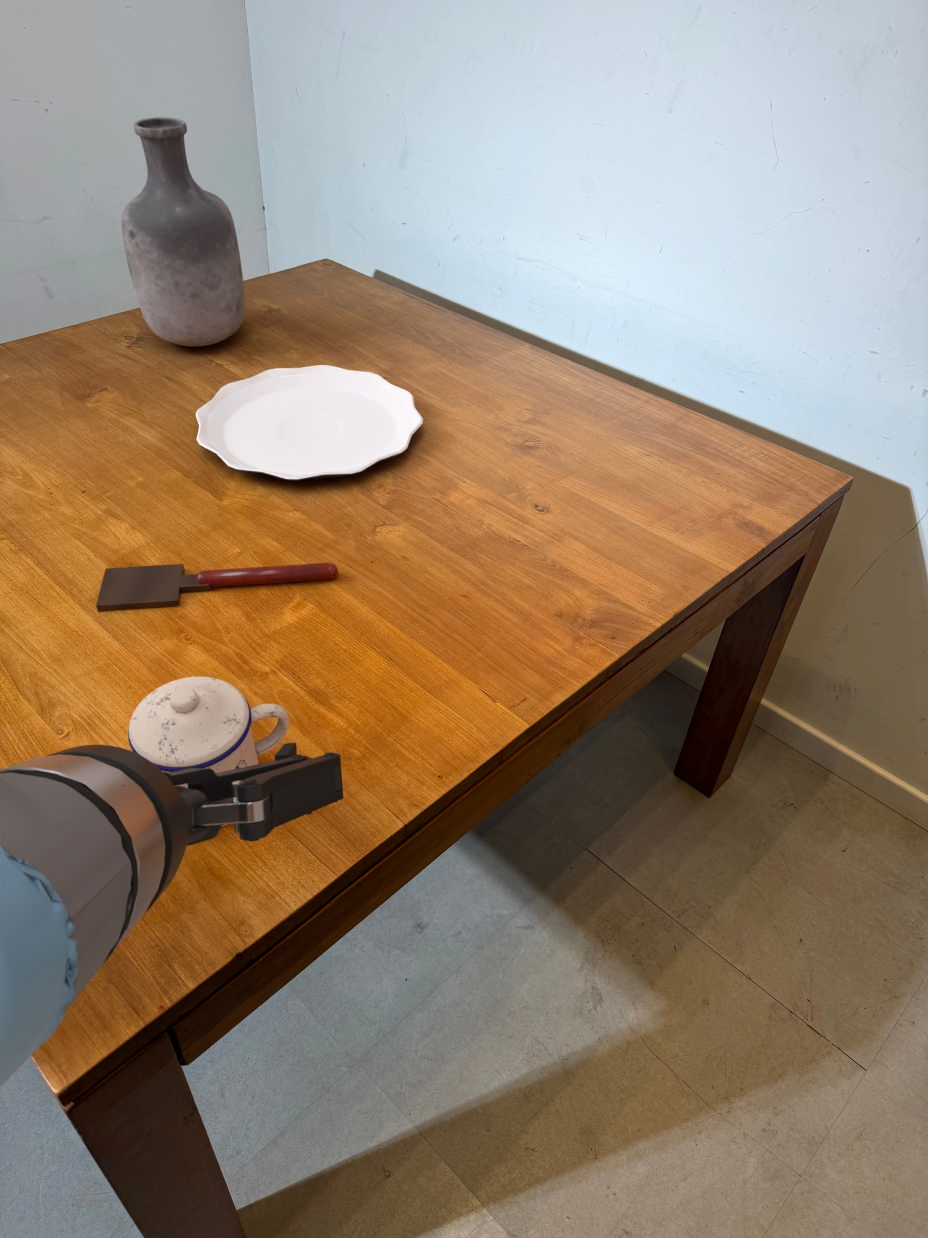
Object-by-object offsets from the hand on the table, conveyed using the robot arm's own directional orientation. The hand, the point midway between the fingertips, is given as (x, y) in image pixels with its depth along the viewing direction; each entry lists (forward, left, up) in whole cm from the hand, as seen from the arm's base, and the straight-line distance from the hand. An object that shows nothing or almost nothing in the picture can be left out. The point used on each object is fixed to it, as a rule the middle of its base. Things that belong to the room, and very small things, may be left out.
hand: (182, 774), depth 53 cm
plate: (+8, +67, -15) cm, 69 cm away
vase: (-9, +97, -15) cm, 99 cm away
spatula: (-2, +36, -15) cm, 39 cm away
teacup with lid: (0, +10, -15) cm, 18 cm away
